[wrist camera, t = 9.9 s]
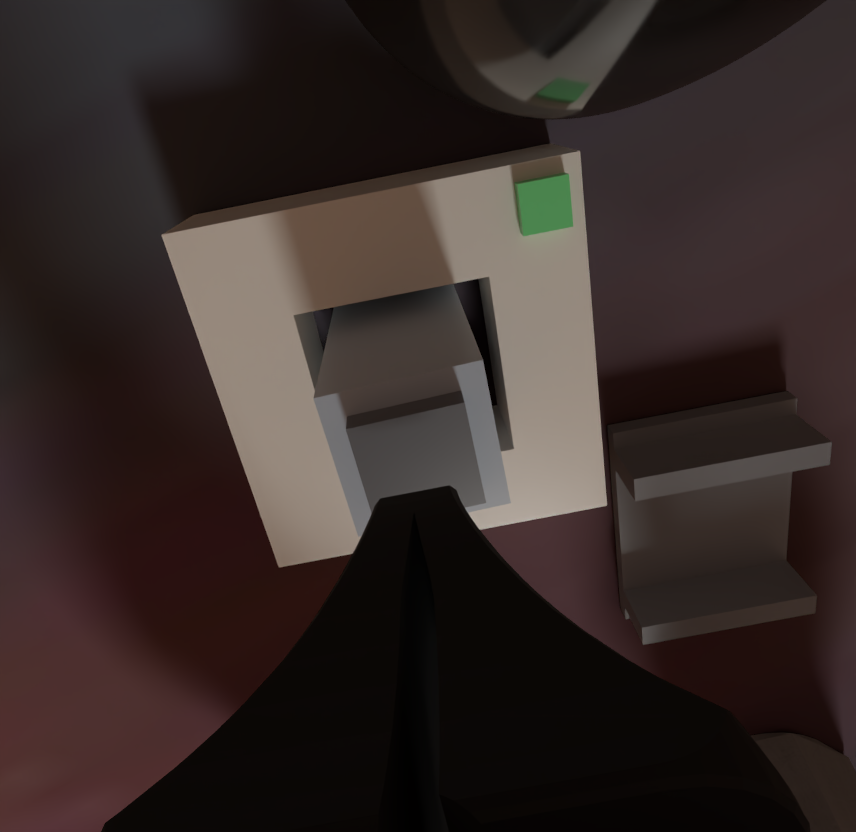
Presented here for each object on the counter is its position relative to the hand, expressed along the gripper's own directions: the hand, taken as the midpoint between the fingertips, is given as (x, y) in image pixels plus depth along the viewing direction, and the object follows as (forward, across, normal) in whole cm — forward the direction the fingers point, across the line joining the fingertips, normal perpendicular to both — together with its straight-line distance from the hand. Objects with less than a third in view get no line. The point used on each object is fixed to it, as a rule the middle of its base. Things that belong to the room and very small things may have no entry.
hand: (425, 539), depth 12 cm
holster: (+10, -9, +8) cm, 16 cm away
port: (+10, 0, 0) cm, 10 cm away
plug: (+10, 0, 0) cm, 10 cm away
